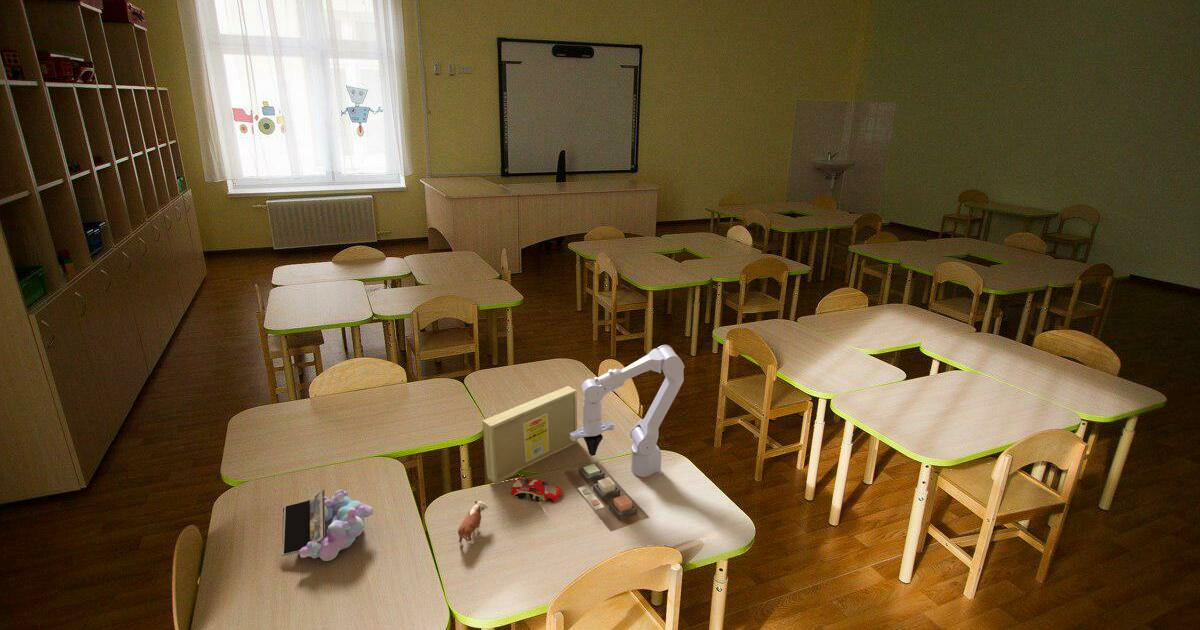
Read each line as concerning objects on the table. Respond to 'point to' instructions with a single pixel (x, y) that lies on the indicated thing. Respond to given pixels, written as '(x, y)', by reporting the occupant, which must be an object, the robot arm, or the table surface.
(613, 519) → the keypad
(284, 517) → the cloud picture frame
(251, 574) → the table surface
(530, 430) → the beige flat box
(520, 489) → the race car
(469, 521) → the bull figurine
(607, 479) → the cream key
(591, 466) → the sage key
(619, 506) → the terracotta key
